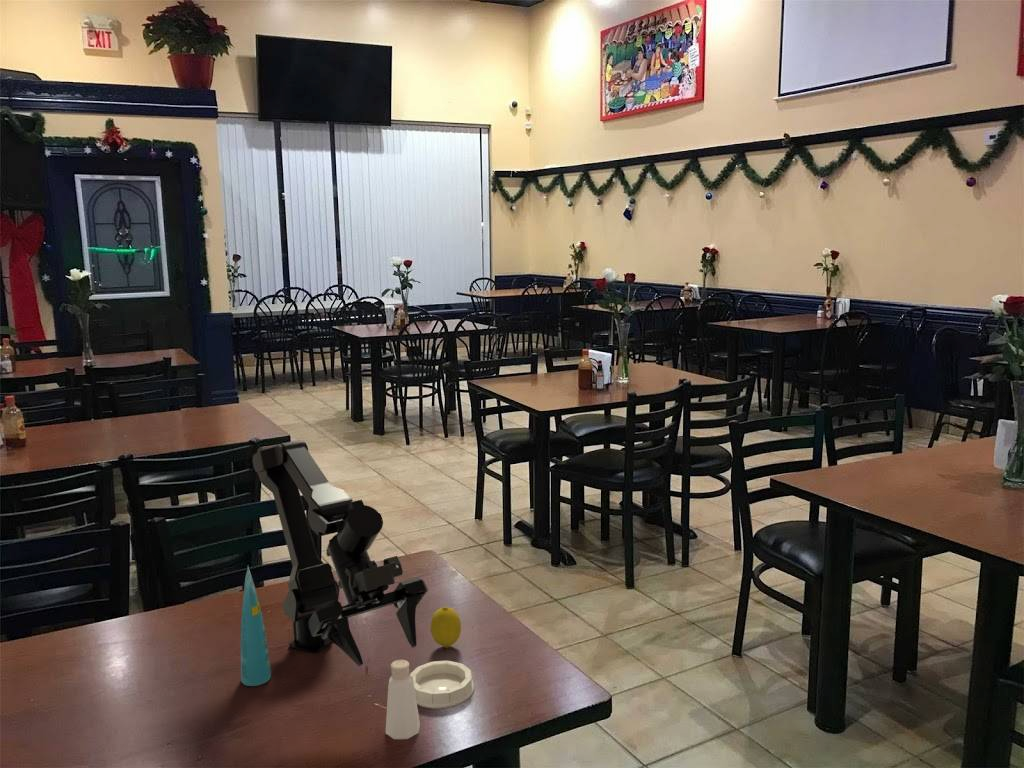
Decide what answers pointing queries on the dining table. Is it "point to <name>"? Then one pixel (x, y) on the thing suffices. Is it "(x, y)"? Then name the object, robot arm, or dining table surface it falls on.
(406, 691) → the pepper shaker
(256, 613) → the tube
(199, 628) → the dining table surface
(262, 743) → the dining table surface
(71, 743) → the dining table surface
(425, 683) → the ring dish
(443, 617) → the lemon
